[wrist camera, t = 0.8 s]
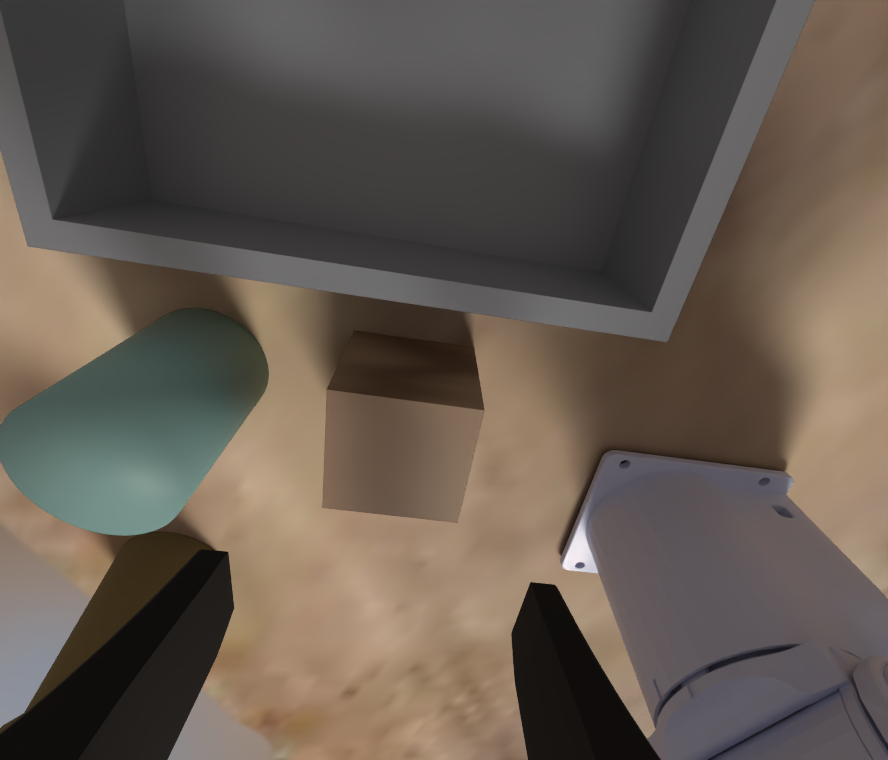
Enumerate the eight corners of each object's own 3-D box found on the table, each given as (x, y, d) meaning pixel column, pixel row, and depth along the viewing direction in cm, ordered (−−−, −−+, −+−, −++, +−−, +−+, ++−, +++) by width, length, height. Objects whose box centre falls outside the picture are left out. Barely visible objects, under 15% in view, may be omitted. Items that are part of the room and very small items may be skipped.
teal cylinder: (266, 317, 18) (174, 410, 12) (270, 420, 20) (194, 543, 14) (137, 299, 17) (-30, 385, 11) (156, 406, 20) (26, 526, 14)
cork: (115, 522, 23) (-122, 798, 13) (234, 544, 24) (92, 819, 14) (121, 594, 26) (-72, 867, 16) (227, 612, 27) (105, 882, 17)
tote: (791, -237, 11) (1026, -490, 7) (609, 291, 17) (667, 342, 13) (40, -437, 10) (-303, -932, 5) (142, 217, 16) (27, 246, 11)
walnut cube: (474, 346, 19) (484, 410, 14) (454, 442, 21) (457, 522, 16) (354, 329, 18) (327, 389, 14) (347, 429, 20) (322, 508, 16)
